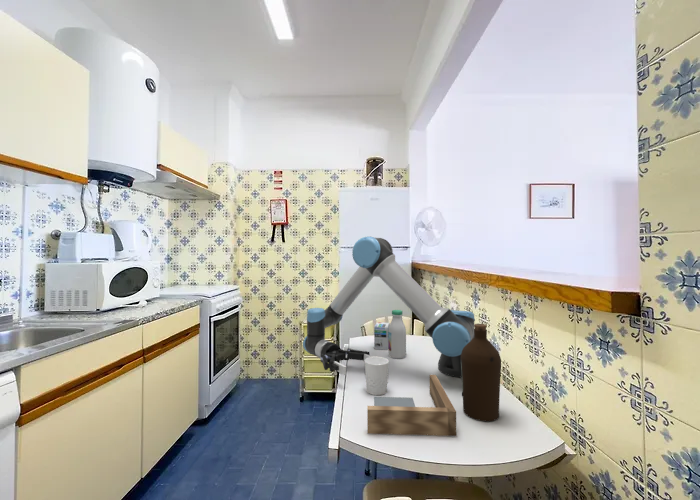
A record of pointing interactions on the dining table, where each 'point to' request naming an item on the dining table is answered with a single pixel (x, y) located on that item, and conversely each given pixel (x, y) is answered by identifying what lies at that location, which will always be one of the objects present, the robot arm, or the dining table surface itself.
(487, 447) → the dining table surface
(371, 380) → the white cup
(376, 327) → the light bulb box
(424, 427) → the corner pen
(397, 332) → the milk bottle
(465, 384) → the brown bottle
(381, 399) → the slate mat
